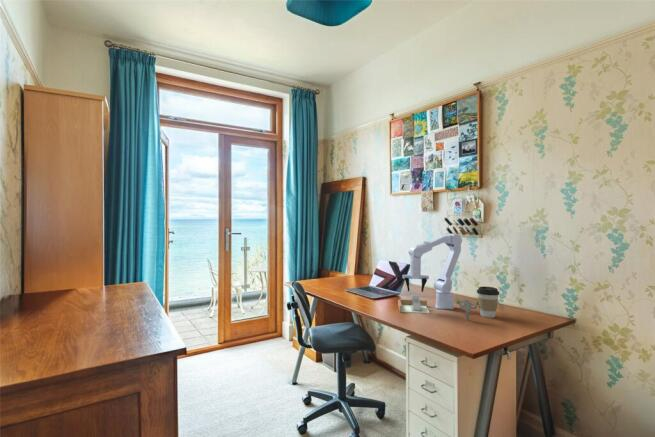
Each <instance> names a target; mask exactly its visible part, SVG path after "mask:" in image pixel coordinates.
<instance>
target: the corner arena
mask: <svg viewBox="0 0 655 437" xmlns="http://www.w3.org/2000/svg"><path fill="white" fill-rule="evenodd" d="M419 301H420V303H421V311H418V310H413V309H412V299H407V298H405V299H404V298H401V299H397V306H398V311H399V313H406V314H407V313H409V314H410V313H411V314H428V315H429V314H430V310H429V308H428V301H427V300H426V299H419Z"/></svg>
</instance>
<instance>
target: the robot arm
mask: <svg viewBox="0 0 655 437" xmlns="http://www.w3.org/2000/svg"><path fill="white" fill-rule="evenodd" d="M422 242H423V243H420V244H416V246H412V247H410V249H409V251H408V255H409V257H410V268H409V269H410V274H402V279H404V281H405V284H406V287H407V292H410V280H411V279H412V280H413V279H414V280H421V290H420V291H421V293H423V292H424V290H425V286H426V283H427V282H428V280H430V276H429V275H424V274H422V273H421V272H422V266H421V264H422V260H421V259H422V257H423V255H424V254H426V253H429V252H430V251H432V250H433V248H435V247H436V246H439V245H441V244H445V245H446V246H447V247H448V248H449V250H450V251H449V253H448V256H447V258H446V261H445V264H444V267H443V269H442V272H441V274H440V275H439V276H438V277H437V278H436V280H435V281H434V282H433V288H434V289H435V292H436V293H435V294H436V295H435V304H434V307H435V309H439V310H454V294H453V292H451V291H452V289H453V280H452V276H453V273H454V270H455V267H456V266H457V265H456V264H457V263H458V260H459V257H460V254H461V251H462V242H463V239H462V237H461V235H460V234H459V233H449V232H448V233H445V234H442V235H441V236H439V237H437V238H434V239H433V240H432V241H426V240H424V241H422Z"/></svg>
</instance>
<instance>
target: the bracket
mask: <svg viewBox="0 0 655 437" xmlns="http://www.w3.org/2000/svg"><path fill="white" fill-rule="evenodd" d="M411 300H412V309H413V310H418V311H421V303H420V301H419V300H420V294H416V293H415V294H411Z"/></svg>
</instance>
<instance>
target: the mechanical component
mask: <svg viewBox="0 0 655 437" xmlns="http://www.w3.org/2000/svg"><path fill="white" fill-rule="evenodd" d="M456 304H457V305H458V306H459V308H460V309H463V310H464V311H465V320H466V321H467V322H468V321H470V313H471V310H476V309H478V306H479V301H474V303H472V301H471V300H468V299H467V300H466V299H458V300H457V301H456ZM473 306H474V307H473Z"/></svg>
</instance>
